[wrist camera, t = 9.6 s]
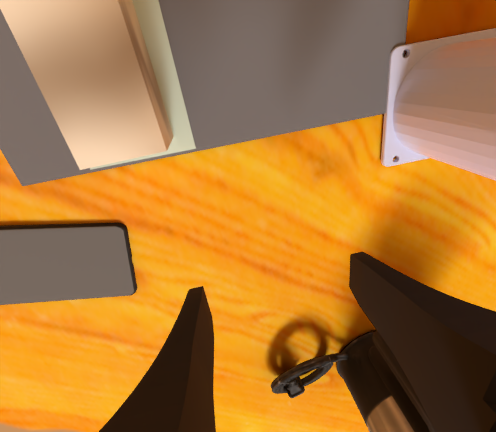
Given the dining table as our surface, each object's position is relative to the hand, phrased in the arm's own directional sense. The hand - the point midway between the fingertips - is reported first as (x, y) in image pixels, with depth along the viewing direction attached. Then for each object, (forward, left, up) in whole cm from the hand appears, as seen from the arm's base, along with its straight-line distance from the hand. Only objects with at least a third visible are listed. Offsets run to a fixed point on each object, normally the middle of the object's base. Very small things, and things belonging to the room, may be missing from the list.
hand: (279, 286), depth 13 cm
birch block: (+6, -10, -9) cm, 15 cm away
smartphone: (+17, +1, -10) cm, 20 cm away
